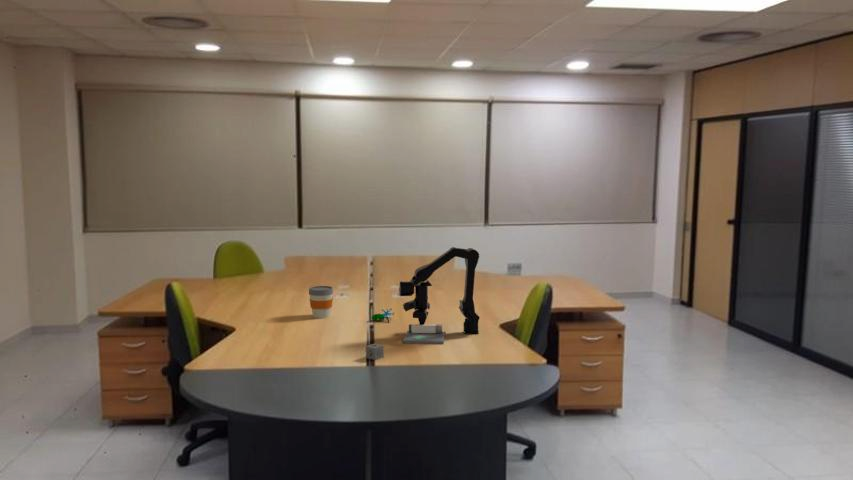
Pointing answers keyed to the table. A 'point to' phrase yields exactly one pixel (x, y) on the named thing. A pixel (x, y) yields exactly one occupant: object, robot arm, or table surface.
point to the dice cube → (374, 351)
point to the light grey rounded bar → (425, 328)
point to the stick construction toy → (382, 316)
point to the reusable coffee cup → (321, 301)
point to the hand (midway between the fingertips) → (421, 328)
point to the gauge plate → (424, 338)
